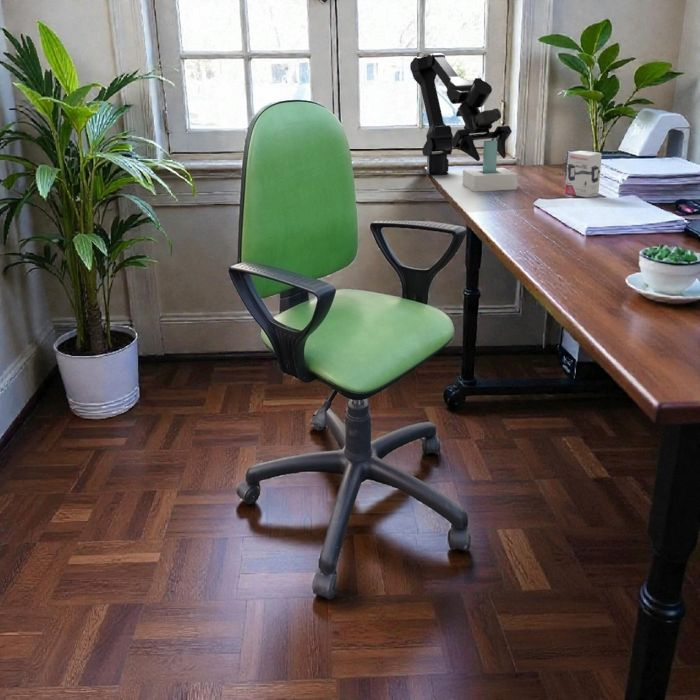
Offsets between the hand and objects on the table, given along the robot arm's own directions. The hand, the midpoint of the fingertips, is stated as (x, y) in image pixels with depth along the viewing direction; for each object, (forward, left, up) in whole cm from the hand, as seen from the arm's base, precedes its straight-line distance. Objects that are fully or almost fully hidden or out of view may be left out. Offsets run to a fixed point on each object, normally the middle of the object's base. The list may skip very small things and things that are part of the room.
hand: (491, 158), depth 228 cm
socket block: (0, +1, -8) cm, 9 cm away
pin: (0, +1, -7) cm, 8 cm away
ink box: (+21, -19, -9) cm, 29 cm away
